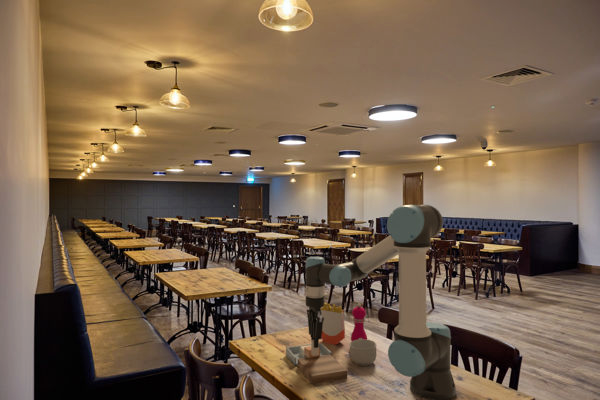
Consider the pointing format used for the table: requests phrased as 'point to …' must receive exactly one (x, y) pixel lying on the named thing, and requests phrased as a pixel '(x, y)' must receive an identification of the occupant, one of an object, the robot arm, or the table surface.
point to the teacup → (363, 351)
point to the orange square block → (309, 352)
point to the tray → (294, 355)
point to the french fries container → (332, 324)
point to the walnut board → (322, 369)
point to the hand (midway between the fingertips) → (314, 354)
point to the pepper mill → (358, 323)
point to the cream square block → (303, 351)
